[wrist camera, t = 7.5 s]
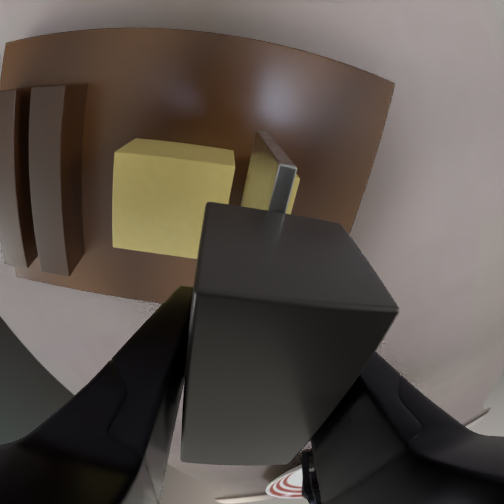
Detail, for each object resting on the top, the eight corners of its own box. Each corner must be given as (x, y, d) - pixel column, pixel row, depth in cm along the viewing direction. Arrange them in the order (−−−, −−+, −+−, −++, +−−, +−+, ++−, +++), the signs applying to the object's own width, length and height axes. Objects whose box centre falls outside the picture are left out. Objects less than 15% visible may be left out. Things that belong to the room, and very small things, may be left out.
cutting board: (383, 82, 14) (421, 85, 11) (310, 306, 22) (324, 346, 19) (19, 43, 11) (-21, 42, 7) (24, 265, 18) (-1, 297, 15)
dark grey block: (302, 139, 10) (432, 252, 4) (256, 310, 14) (279, 474, 7) (219, 123, 10) (202, 212, 3) (193, 303, 14) (180, 472, 7)
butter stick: (233, 150, 15) (235, 166, 12) (219, 230, 17) (218, 262, 14) (135, 137, 14) (114, 151, 11) (130, 218, 16) (112, 247, 13)
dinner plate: (413, 406, 34) (421, 424, 31) (412, 451, 47) (417, 463, 44) (235, 464, 38) (236, 483, 35) (293, 491, 52) (295, 503, 49)
